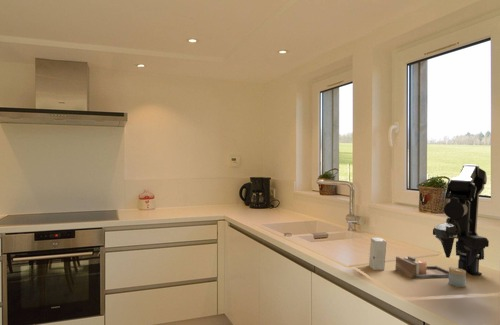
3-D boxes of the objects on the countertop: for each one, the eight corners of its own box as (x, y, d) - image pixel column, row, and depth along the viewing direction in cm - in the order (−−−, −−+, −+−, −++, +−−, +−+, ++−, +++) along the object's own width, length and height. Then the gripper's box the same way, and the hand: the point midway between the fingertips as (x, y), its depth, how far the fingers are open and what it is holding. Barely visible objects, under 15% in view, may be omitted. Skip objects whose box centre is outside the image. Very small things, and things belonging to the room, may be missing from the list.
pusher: (405, 270, 135) (406, 254, 135) (418, 276, 128) (419, 260, 128) (403, 270, 135) (404, 254, 135) (416, 276, 128) (416, 260, 127)
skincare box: (368, 267, 140) (369, 237, 140) (379, 268, 140) (380, 237, 140) (373, 272, 134) (374, 240, 134) (385, 273, 134) (386, 241, 134)
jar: (420, 271, 135) (420, 259, 135) (429, 275, 130) (429, 263, 130) (408, 271, 134) (408, 259, 134) (417, 275, 129) (417, 263, 129)
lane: (436, 270, 139) (436, 255, 139) (455, 279, 129) (456, 263, 129) (395, 272, 136) (396, 256, 135) (412, 281, 126) (413, 264, 126)
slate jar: (457, 284, 124) (458, 267, 124) (468, 289, 119) (469, 272, 119) (444, 285, 123) (445, 267, 123) (456, 290, 118) (456, 272, 118)
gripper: (420, 211, 129) (418, 254, 129) (461, 221, 110) (458, 270, 111) (447, 211, 131) (445, 253, 131) (491, 220, 113) (488, 269, 113)
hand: (457, 261), depth 121 cm, fingers open, 9 cm apart
